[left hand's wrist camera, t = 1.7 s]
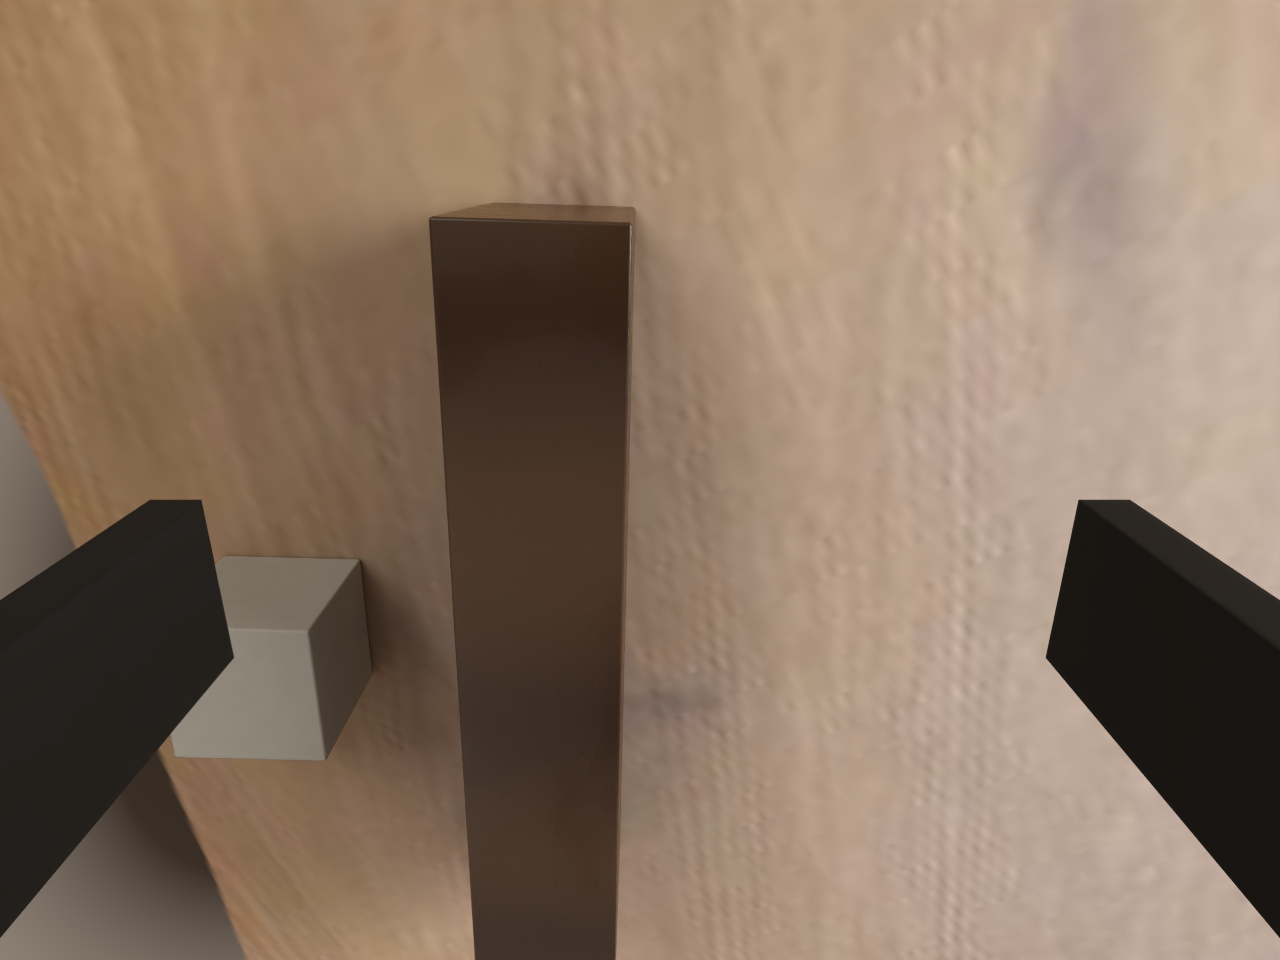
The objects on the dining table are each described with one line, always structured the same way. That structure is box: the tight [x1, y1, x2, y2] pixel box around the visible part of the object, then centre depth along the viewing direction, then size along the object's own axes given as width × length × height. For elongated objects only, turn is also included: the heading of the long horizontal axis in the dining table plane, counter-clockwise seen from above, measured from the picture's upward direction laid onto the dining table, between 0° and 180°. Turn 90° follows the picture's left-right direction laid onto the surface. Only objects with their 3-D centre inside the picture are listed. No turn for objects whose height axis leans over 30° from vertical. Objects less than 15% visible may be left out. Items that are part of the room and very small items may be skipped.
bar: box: [429, 203, 635, 960], centre depth 26 cm, size 26×4×8 cm, turn 178°
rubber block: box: [170, 556, 372, 761], centre depth 28 cm, size 5×5×5 cm
